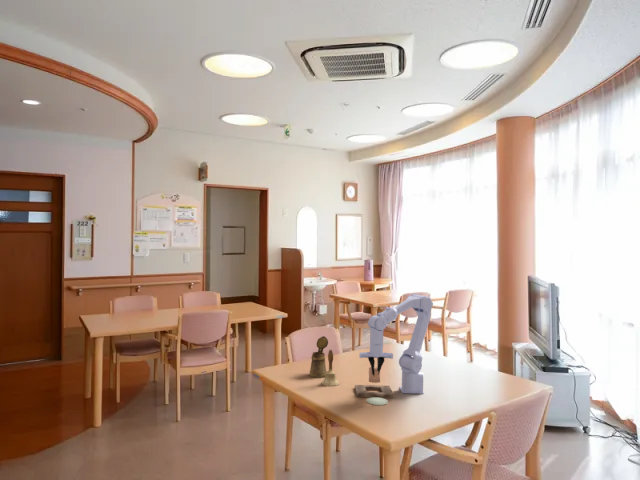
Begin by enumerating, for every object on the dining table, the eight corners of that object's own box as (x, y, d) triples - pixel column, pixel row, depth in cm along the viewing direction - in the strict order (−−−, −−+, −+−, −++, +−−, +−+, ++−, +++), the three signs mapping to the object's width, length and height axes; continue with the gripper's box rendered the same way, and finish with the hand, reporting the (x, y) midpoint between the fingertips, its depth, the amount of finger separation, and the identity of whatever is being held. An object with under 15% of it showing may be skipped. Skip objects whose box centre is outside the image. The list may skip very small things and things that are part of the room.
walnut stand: (389, 388, 208) (389, 385, 208) (393, 397, 196) (393, 394, 196) (354, 388, 208) (354, 384, 208) (357, 397, 196) (357, 393, 196)
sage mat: (385, 398, 196) (385, 397, 196) (389, 405, 187) (389, 405, 187) (365, 397, 195) (365, 396, 195) (367, 405, 186) (367, 404, 186)
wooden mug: (331, 371, 234) (332, 336, 234) (324, 378, 221) (325, 342, 221) (315, 369, 236) (316, 335, 237) (306, 376, 223) (307, 340, 224)
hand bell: (324, 386, 209) (325, 352, 209) (319, 381, 217) (320, 348, 217) (341, 385, 211) (342, 351, 211) (336, 380, 219) (337, 347, 219)
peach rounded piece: (368, 380, 203) (368, 367, 204) (379, 381, 203) (379, 367, 204) (370, 383, 194) (370, 369, 195) (382, 384, 194) (382, 369, 195)
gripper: (391, 341, 202) (390, 372, 202) (359, 341, 201) (358, 371, 201) (394, 345, 195) (393, 376, 195) (360, 344, 194) (359, 376, 194)
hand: (375, 374), depth 198 cm, fingers closed on peach rounded piece
